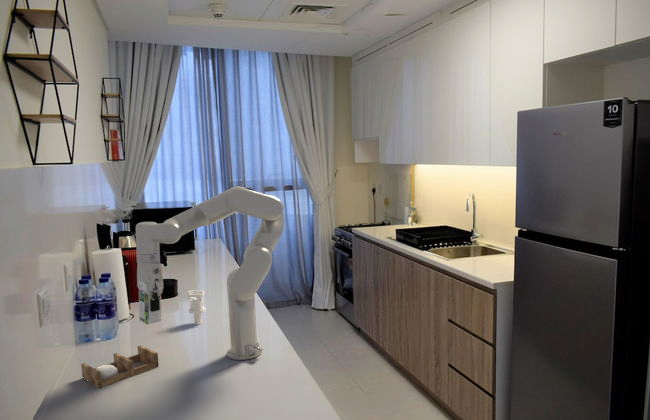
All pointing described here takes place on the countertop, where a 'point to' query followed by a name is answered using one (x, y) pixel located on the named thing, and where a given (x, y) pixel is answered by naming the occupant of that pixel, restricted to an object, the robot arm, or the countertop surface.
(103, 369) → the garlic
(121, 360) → the rack
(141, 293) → the syrup box
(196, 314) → the white slotted cylinder
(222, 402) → the countertop surface
